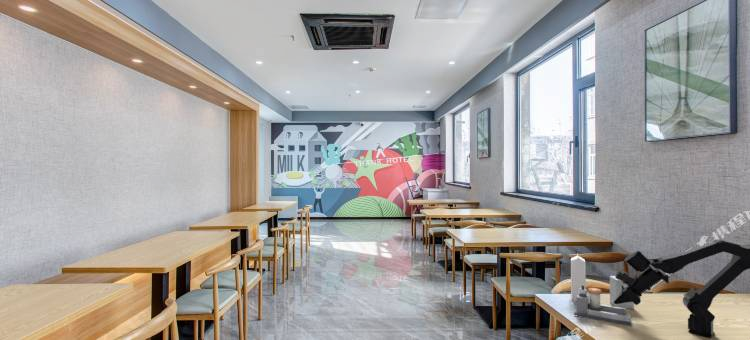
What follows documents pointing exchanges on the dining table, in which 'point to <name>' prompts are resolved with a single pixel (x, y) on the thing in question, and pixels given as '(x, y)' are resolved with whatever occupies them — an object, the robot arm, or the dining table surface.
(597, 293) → the knob
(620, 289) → the supplement box
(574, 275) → the milk
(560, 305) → the dining table surface
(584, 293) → the potentiometer
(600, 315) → the mount
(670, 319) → the dining table surface
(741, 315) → the dining table surface
